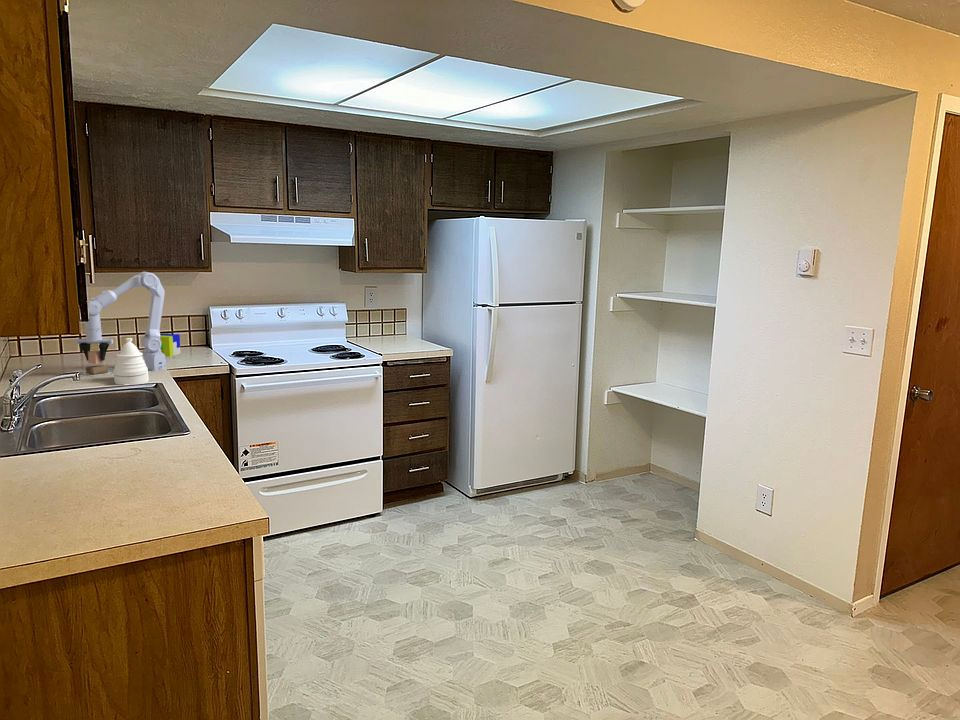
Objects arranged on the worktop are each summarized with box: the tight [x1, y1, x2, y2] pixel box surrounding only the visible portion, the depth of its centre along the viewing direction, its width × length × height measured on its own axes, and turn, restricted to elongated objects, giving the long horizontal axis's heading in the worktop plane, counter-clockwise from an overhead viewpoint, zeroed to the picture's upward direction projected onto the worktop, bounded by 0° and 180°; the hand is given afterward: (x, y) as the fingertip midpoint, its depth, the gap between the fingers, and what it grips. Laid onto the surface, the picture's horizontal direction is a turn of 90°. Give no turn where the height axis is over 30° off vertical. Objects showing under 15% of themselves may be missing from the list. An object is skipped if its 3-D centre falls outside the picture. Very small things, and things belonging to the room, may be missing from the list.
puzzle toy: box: [160, 333, 181, 358], centre depth 343 cm, size 10×10×10 cm
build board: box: [79, 366, 115, 378], centre depth 295 cm, size 12×18×1 cm, turn 149°
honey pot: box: [113, 337, 150, 386], centre depth 280 cm, size 13×13×18 cm
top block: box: [87, 349, 104, 365], centre depth 289 cm, size 4×4×5 cm
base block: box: [85, 364, 108, 375], centre depth 290 cm, size 6×6×3 cm
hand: (95, 360), depth 290 cm, fingers closed on top block, 5 cm apart
